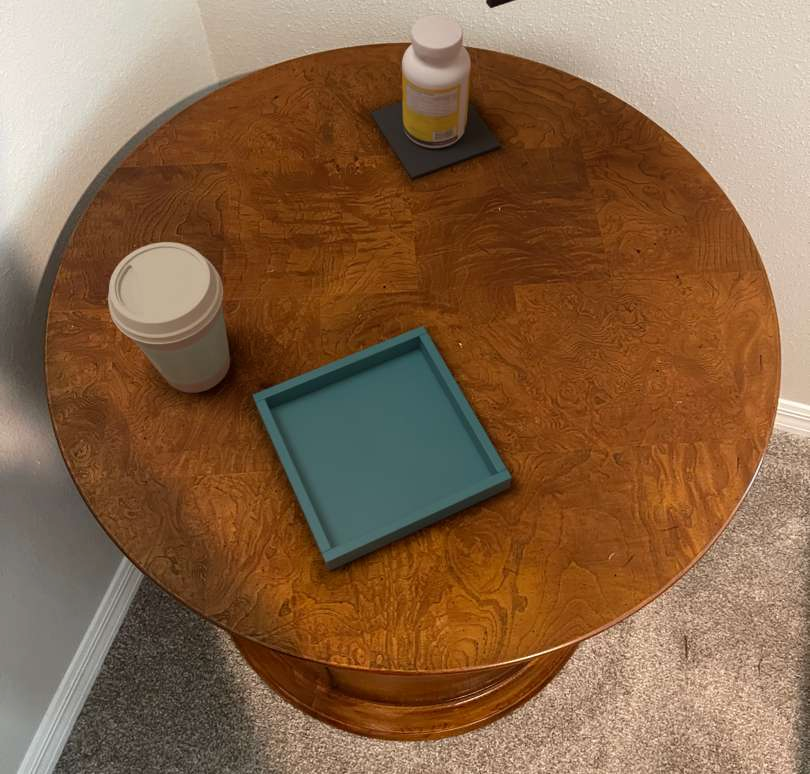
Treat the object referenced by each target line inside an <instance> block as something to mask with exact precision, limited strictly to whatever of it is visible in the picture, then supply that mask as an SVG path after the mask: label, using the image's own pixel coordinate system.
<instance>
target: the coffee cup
mask: <svg viewBox="0 0 810 774" xmlns="http://www.w3.org/2000/svg"><path fill="white" fill-rule="evenodd" d="M108 285H109V286H108V294H107V296H108V297H107V303H108V309H109V312H110V316H111V319H112V320H113V323H114V324H115V326H116V327H117V329H118V330H119V331H120V332H121V333H123V334H124V335H125V336H127V337H128V338H131V339H132V340H133V342H134V343H135V344H136V346H137V347H138V348H139V349H140V350H141V351H142V353H143V354H144V355H145V356H146V358H147V359H148V360H149V362H150V363H151V364H152V365H153V366H154V367H155V369H156V370H157V371H158V373H159V374H160V375H161V376H162V377H163V379H164V380H165V381H166V382H167V383H168V384H169V385H170V386H171V387H172V388H174V389H175V390H177V391H180V392H183V393H187V394H188V393H189V394H193V393H195V394H197V393H201V392H205V391H208V390H210V389H212V388H214V387H215V386H217V385H218V384H220V382H222V380H224V378H225V377H226V375H227V374H228V371H229V368H230V365H231V355H230V349H229V348H230V347H229V341H228V336H227V335H228V334H227V329H226V322H225V317H224V316H225V315H224V310H223V309H224V308H223V296H224V287H223V282H222V278H221V276H220V274H219V272H218V271H217V269H216V268H215V266H214V265H213V264H212V262H211V261H210V260H208V258H207V257H205V256H203V255H202V254H201V253H200V252H199V251H197V250H196V249H194V247H191V246H189V245H187V244H183V243H179V242H172V241H164V242H163V241H161V242H156V243H155V242H154V243H151V244H147V245H144V246H141V247H139V248H137V249H135V250H134V251H132V252H130V253H129V254H128V255H126V256H125V257H124V258H123V259H122V260H121V261H119V263H118V264H117V266H116V267H115V268H114V270H113V272H112V274H111V276H110V279H109V284H108Z"/></svg>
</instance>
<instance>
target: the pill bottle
mask: <svg viewBox="0 0 810 774" xmlns="http://www.w3.org/2000/svg"><path fill="white" fill-rule="evenodd" d="M410 34H411V37H410V43H411V44H410V45H409V46H407V49H406V50H405V51H404V54H403V57H402V61H401V87H402V89H401V90H402V91H401V93H402V94H401V95H402V102H403V127H404V130H405V133H406V134H407V136H408V137H409V138H410V139H411V140H412V141H413V142H415V143H416V144H418V145H420V146H423V147H427V148H442V147H446V146H449V145H451V144H453V143H455V142H456V141H457V140H459V139H460V138H461V136H462V135H463V133H464V131H465V128H466V122H467V110H468V101H469V97H470V96H469V95H470V84H471V83H470V81H471V70H472V69H471V68H472V67H471V65H472V64H471V57H470V54H469V52H468V50H467V49H466V47H465V46H464V45H463V43H464V39H463V38H464V29H463V27H462V25H461V24H460V22H458V20H456V19H455V18H454V17H451V16H448V15H445V14H429V15H425V16H423V17H421V18H419V19H418V20H416V21H415V22H414V23H413V25H412V27H411V31H410Z"/></svg>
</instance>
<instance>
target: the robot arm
mask: <svg viewBox="0 0 810 774" xmlns="http://www.w3.org/2000/svg"><path fill="white" fill-rule="evenodd" d="M514 1H516V0H485V4H486V5H487V6H488V7H489V8H490V9H494V8H497V7H499V6H502V5H506V4H508V3H512V2H514Z"/></svg>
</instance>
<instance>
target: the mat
mask: <svg viewBox="0 0 810 774" xmlns="http://www.w3.org/2000/svg"><path fill="white" fill-rule="evenodd" d="M369 113H370V117H371V118H372V120H373V121H374V123H375V125H376V126H377V128H378V130H379V131H380V133H381V134H382V136H383V137H384V139H385V141H386V142H387V144H388V145H389V146H390V148H391V150H392V152H393V154H395V155H396V157H397V160H398V161H399V162H400V164H401V165H402V167H403V168H404V170H405V172H406V173H407V174H408V176H409V178H410V179H411V181H413V180H416V179H418V178H421V177H425V176H427V175H429V174H433V173H435V172H438V171H440V170H444V169H446V168H449V167H452V166H454V165H457V164H460V163H463V162H465V161H468V160H471V159H473V158H476V157H479V156H481V155H484V154H488V153H490V152H493V151H496V150H498V149H500V148H501V143H500V141H498V139H497V138H496V137H495V135H494V134H493V132H492V131H491V130H490V128H489V127H488V126H487V124H486V123H485V121H484V120H483V119H482V117H481V116H480V115H479V113H478V112H477V111H476V109H475V108H474V107H473V105H472V104H471V102H470V101H469V100H468V110H467V122H466V128H465V131H464V133H463V135H462V136H461V138H460V139H459V140H457V141H456V142H455V143H453V144H451V145H449V146H446V147H442V148H427V147H423V146H420V145H418V144H416V143H415V142H413V141H412V140H411V139H410V138H409V137H408V136H407V134H406V133H405V130H404V127H403V101H400V102H397V103H395V104H392V105H389V106H385V107H382V108H380V109H376V110H374V111H371V112H369Z"/></svg>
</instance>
